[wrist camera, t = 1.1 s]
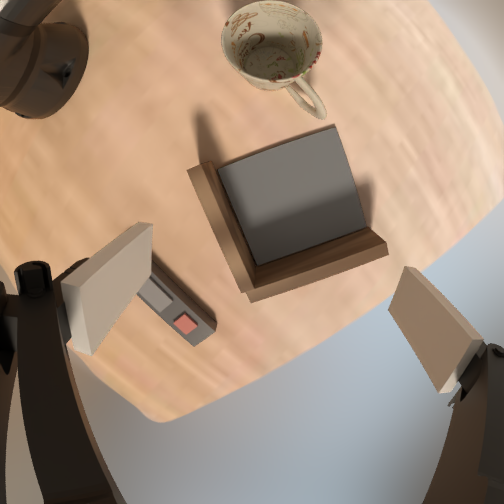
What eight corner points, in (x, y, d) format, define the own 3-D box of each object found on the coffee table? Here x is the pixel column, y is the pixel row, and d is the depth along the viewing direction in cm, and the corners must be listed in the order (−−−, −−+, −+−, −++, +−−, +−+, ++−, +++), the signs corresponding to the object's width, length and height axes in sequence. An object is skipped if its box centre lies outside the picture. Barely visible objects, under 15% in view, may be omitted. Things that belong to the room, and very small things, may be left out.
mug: (272, 26, 26) (275, -14, 16) (344, 101, 29) (375, 85, 19) (218, 65, 28) (200, 36, 18) (290, 142, 31) (302, 140, 22)
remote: (116, 261, 37) (108, 268, 35) (134, 241, 36) (126, 247, 34) (196, 338, 41) (193, 348, 39) (217, 323, 40) (214, 333, 37)
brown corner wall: (199, 166, 32) (186, 170, 27) (333, 117, 29) (348, 111, 24) (249, 280, 37) (246, 304, 31) (370, 237, 34) (388, 254, 29)
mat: (217, 169, 32) (217, 169, 32) (334, 127, 30) (335, 127, 30) (257, 264, 36) (257, 265, 36) (365, 226, 34) (366, 226, 34)
